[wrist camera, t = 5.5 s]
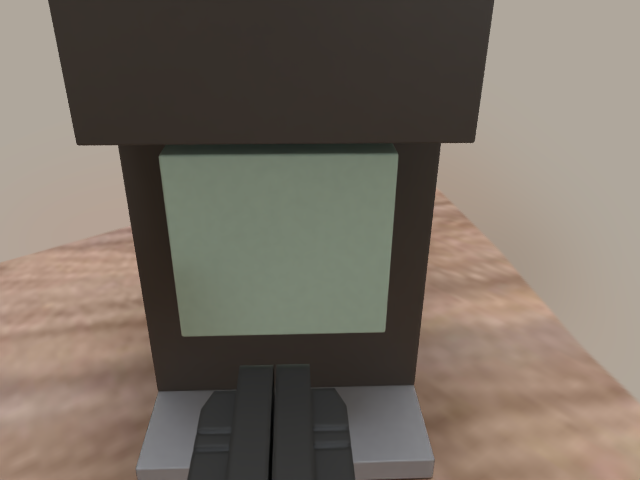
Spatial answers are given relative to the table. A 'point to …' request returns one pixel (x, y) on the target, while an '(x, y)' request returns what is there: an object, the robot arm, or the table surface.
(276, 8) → the box
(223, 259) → the push plate
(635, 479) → the table surface
